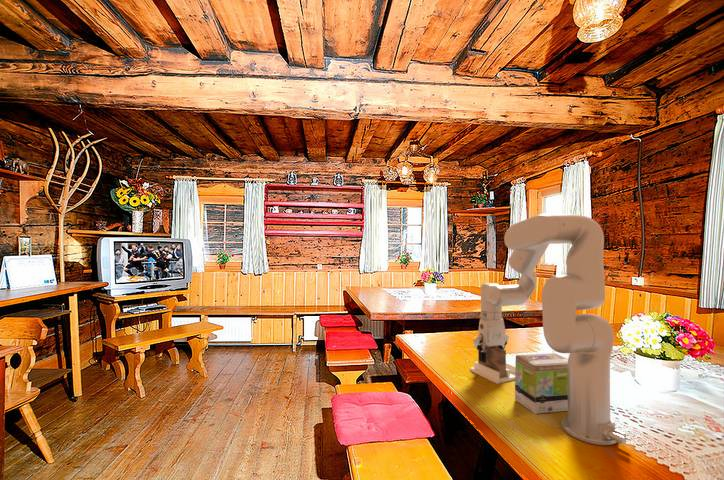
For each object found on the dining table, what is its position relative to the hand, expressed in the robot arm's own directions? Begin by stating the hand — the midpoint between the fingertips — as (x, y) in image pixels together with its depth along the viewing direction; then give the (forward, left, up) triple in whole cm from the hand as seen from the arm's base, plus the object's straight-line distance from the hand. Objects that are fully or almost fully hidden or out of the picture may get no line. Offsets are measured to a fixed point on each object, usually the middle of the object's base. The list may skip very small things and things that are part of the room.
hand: (491, 359), depth 128 cm
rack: (0, -3, -6) cm, 6 cm away
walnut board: (0, 0, -5) cm, 5 cm away
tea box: (-25, +2, -6) cm, 26 cm away
